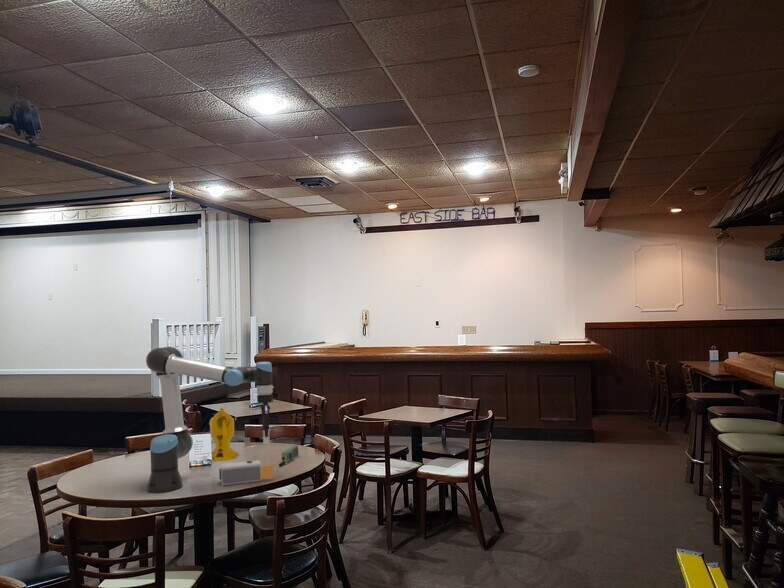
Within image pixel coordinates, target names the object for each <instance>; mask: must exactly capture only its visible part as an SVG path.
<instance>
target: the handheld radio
mask: <svg viewBox="0 0 784 588" xmlns="http://www.w3.org/2000/svg"><path fill="white" fill-rule="evenodd" d="M298 455H299V445H298V444H293V445H292V446H290V447H288V448H286V449H285V450H283V451H281V462H280V463H279V464H278V466H279V467H281V466H283V465H287V464H289V463H291V462H292V461H293V460H294V459H293V458H295V457H296V456H298ZM298 457H299V456H298ZM296 458H297V457H296ZM296 458H295V459H296ZM292 459H293V460H292ZM291 460H292V461H291ZM288 462H289V463H288ZM286 463H287V464H286Z"/></svg>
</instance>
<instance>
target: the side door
mask: <svg viewBox="0 0 784 588" xmlns="http://www.w3.org/2000/svg"><path fill="white" fill-rule="evenodd" d="M222 479H223V484H225V483H234V482H243V481H251V480H260V479H261V480H267V479H268V480H269V479H274V465H273V464H268V465H265V464H264V465H261V466H256V467H247V468H238V469H229V470H222Z"/></svg>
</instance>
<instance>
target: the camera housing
mask: <svg viewBox="0 0 784 588" xmlns="http://www.w3.org/2000/svg"><path fill="white" fill-rule="evenodd" d="M256 466H262V463H261V460H260V459H258V460H246V461H238V462H230V463H228V462H227V463H221V464H220V468H219V469H218V470H219V472H218V473H219V474H218V475H219V480H220V483H221V486H229V485H237V484H246V483H255V482H261V481H262V479H260V480H251V481H243V482H234V483H225V484H223V479H222V470H229V469H238V468H247V467H256Z"/></svg>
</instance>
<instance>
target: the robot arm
mask: <svg viewBox="0 0 784 588" xmlns="http://www.w3.org/2000/svg"><path fill="white" fill-rule="evenodd" d="M145 362H146V366H147V368H148V369H149V370H151V371H152V372H155V374H156V375H155V376H156V377H157V378H158V379H159V380H160V388H161V389H160V391H161V398H162V399H161V400H162V408H163V409H162V410H163V418H164V426H165V427H164V428H165V429H164V430H163V431H162V435H158V436H156V437H154V438H152V439H151V441H150V447H149V451H150V475H149V478H148V482H147V484H146V485H147V486H146V491H147V492H148V491H149V492H148V493H153V492H160V493H166V492H167V493H168V492H171V491H176V490H178V489H181V488H182V487H183V480H182V476H181V474H180V471H179V459H181V458H184V457H185V456H186V455H187V454H188V453H190V451H191V450H192V448H193V445H194V441H193V437H192V435H191V434H190V433H189V428H188V427H187V426H186V425H185V422H184V421H185V420H184V412H183V404H182V397H181V395H182V394H181V386H180V375H182V376H189V377H192V378H198V379H203V380H208V381H214V382H219V383H221V384H227V386H230V387H237V386H239V385H240V384H241V385H242V384H245V383H256V394H257V395H256V402H257V403H259V404H262V405H261V406H260V410H261V415H262V417H261V418H262V419H261V420H262V425H261V426H262V429H261V430H262V442H263V445H268V444H270V429H271V427H270V409H271V406H270V405H269V403H272V402H273V401H274V395H273V391H274V390H273V389H274V388H275V387H274V386H273V365H272V362H270V361H258V362H256V363H255V366H236V367H230V366H229V367H228V366H224V365H219V364H214V363H209V362H205V361H200V360H196V359H195V360H194V359H189V358H185V357H184V354H183V353H182V351H181V350H179V349H178V348H176V347H174V346H173V347H172V346H163V347H156V348H153V349H151V350H150V351H149V352H148V354H147V355H146V358H145ZM180 487H181V488H180Z"/></svg>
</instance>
